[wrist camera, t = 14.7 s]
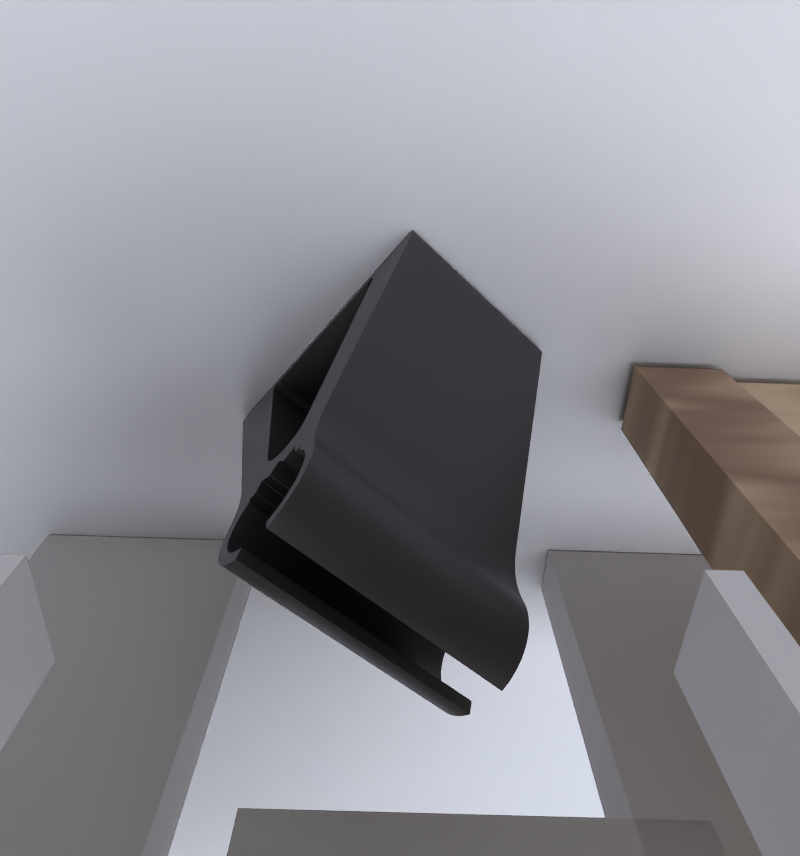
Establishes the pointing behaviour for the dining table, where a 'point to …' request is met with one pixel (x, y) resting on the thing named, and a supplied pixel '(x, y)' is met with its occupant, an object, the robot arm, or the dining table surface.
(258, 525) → the phone stand
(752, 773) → the robot arm
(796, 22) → the dining table surface
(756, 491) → the door
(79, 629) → the wall
